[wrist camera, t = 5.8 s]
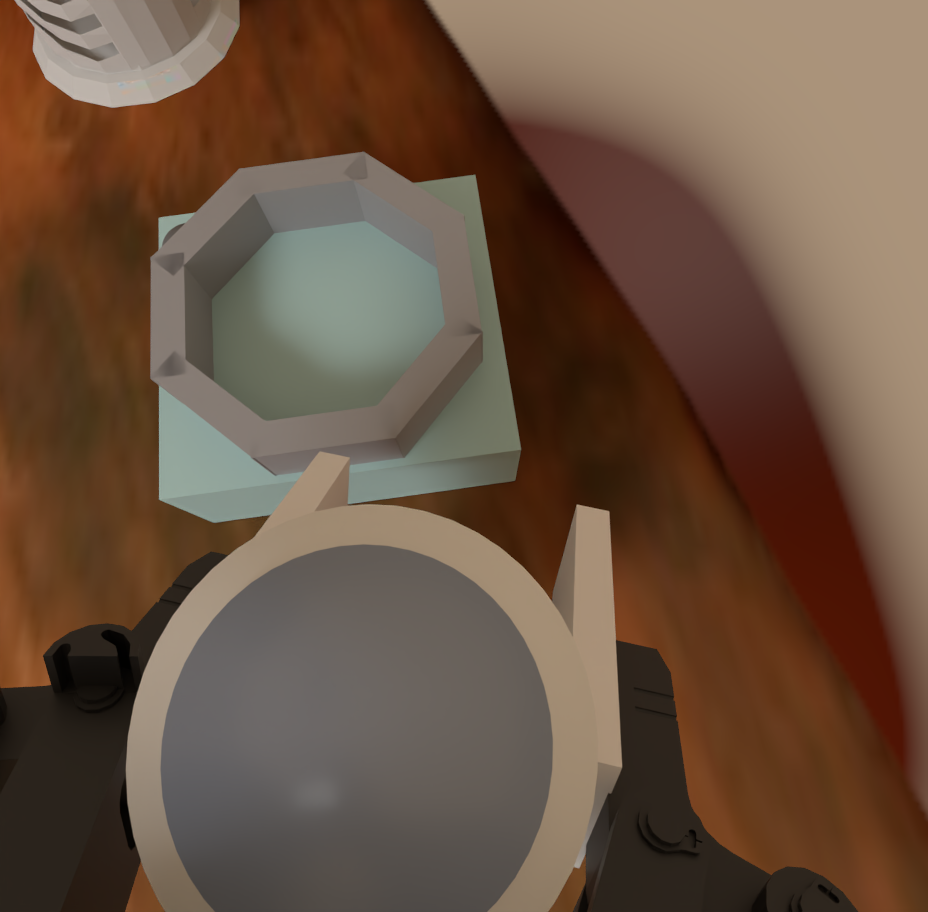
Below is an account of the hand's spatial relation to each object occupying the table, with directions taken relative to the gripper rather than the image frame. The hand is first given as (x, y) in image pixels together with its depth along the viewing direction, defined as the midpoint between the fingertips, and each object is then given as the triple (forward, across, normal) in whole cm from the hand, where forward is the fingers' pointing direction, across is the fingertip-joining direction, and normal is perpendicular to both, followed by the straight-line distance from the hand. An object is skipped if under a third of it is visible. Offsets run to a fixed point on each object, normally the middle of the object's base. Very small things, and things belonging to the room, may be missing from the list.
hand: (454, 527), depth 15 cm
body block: (+9, -6, -1) cm, 11 cm away
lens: (0, 0, -5) cm, 5 cm away
